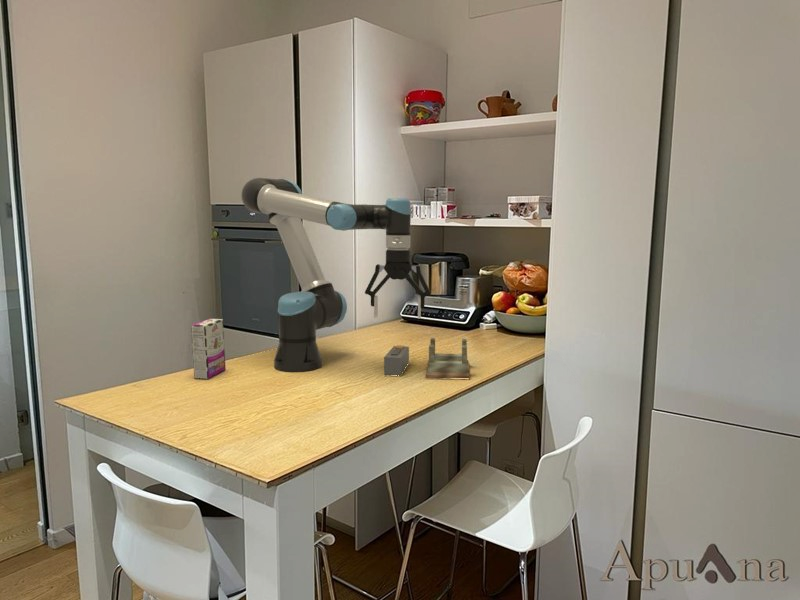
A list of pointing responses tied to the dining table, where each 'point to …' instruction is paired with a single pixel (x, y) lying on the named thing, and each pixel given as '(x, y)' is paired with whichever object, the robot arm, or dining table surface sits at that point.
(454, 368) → the rack
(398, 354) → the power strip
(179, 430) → the dining table surface
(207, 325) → the candy bar box
